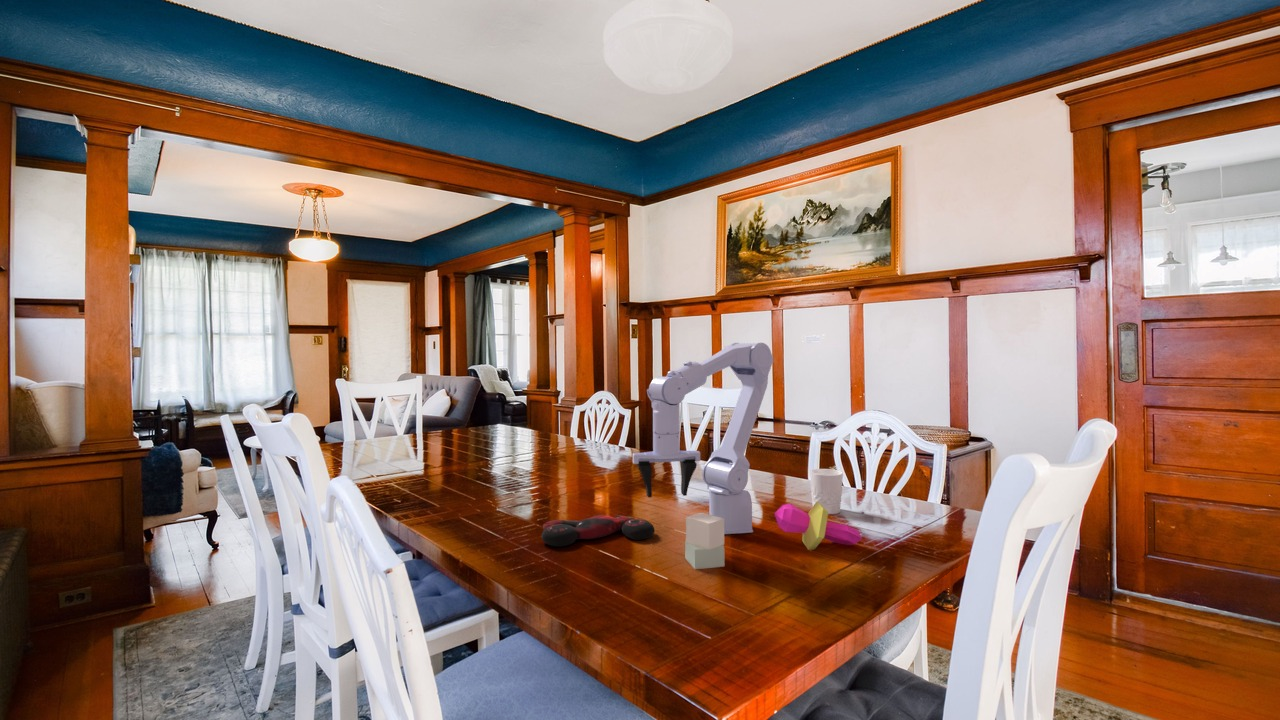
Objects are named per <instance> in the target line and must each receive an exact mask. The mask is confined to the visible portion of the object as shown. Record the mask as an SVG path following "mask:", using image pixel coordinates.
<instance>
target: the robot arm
mask: <svg viewBox="0 0 1280 720" xmlns="http://www.w3.org/2000/svg"><path fill="white" fill-rule="evenodd" d="M682 364H683V365H682V366H681V367H679V368H677V369H675V370H669V371H667V374H666V376H655V377H654V378H653V379H652V380H651V382H650V384H649V386H648V388H647V389H646V393H647V398H649V400H650V402H651V408H652V451H646V452H645V451H644V452H633V453H632V463H633V465H637V468H638V470H639V472H640V475H641V477H642V480H643V484H644V486H645V490H646V491H645V492H646V496H647V498H652V497H653V490H652V473H653V472H652V471H653V468H652V467H651V465H652V464H653V463H672V462H679V464H680V471H681V472H680V474H681V477H680V478H681V480H680V481H681V482H680V484H681V486H680V493H681V495H682V496H683V497H684V496H685V497H686V496H687V495H688V490H689V485H690V483H691V482H690V481H691V479H692V477H693V475H694V472H695V471H696V468H697V462H701V451H699V450H681V449H680V448H681V445H680V443H681V439H680V438H681V437H680V435H681V434H680V403H682V402H683V400H684V399H685V396H686V395H687V394H689V393H691V392H693V391H695V390H697V389H698V388H700V387H702V386H704V385H705V384H706V383H707V377H710V376H713V375H714V374H716V373H718V372H719V371H723V370H724V369H727V368H730V370H732V372H733V373H734V375H735V376H736V377H737V379H738V380H740V383H741V385H742V386H741V390H740V392H739V394H738V395H739V396H738V399H737V400H736V403H735V406H734V410H733V412H732V416H731V419H730V421H729V424H728V426H727V430H726V432H725V435H724V437H723V440H722V444H721V446H720V447H718V448H717V449H715V450H714V451H712V452H711V455H710V456H709V459H708V460H707V461H706V462H705V464H704V466H703V468H702V480H703V481H704V484H706V485H707V490H708V491H709V492H708V494H709V497H708V498H709V499H708V501H709V502H708V503H709V504H708V505H709V507H708V509H709V510H708V511H709V515H713V516H716V517H720V518H723V519H724V535H732V534H734V535H735V534H749V533H750V534H751V533H754V530H753V502H752V501H753V500H752V496H751V494H750V492H749V490H745V488H747V487H746V486H747V484H748V482H749V469H750V466H751V464H750V462H749V460H748V459H747V458H746V456H745V452H746V450H747V446H748V443H749V441H750V437H751V435H752V432H753V429H754V426H755V422H756V420H757V417H758V414H759V413H760V412H759V411H760V408H761V406H762V401H763V399H764V396H765V395H766V394H765V393H766V390H767V388H768V383H769V381H768V380H769V374H770V370H771V368H772V366H773V364H774V357H773V354H772V352H771V349H770V347H769V345H768V344H767V343H765V342H758V343H757V342H755V343H754V342H753V343H748V342H747V343H745V342H744V343H740V342H733V343H731V344H729V345H726V346H724V348H723V349H721V350H719V351H718V352H717V353H714V354H713V355H711V356H710V357H708V358H706V359H705V360H703V361H701V362H700V363H699V362H696V361H691V360H689V361H688V360H687V361H685V362H683V363H682ZM651 463H652V464H651Z"/></svg>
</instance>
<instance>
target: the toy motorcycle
mask: <svg viewBox="0 0 1280 720" xmlns="http://www.w3.org/2000/svg"><path fill="white" fill-rule="evenodd" d="M542 528H543V531H542V533H541V540H542V541H543V543H544V544H546V545H548V546H551V547H555V548H556V547H558V548H559V547H566V546H569V545H573V544H574V543H575V542H576V541H577V540H581V539H582V540H594V539H601V538H603V537H607V536H610V535H612V534H614V533H616V532H618V531H621V532H622V534H623V535H624V536H626V537H627V538H629V539H631V540H634V541H644V540H647V539H650V538H651V537H652V536H653V535H654V533H655V531H656V530H655V527H654V525H653V524H652V523H651V522H650V521H648V520H645V519H643V518H636V517H633V516H625V515H622V514H619V515H618V514H615V517H613V516H610V515H607V514H598V515H594V516H592V517H588V518H585V519H582V520H566V519H553V520H550V521H546V522H545V523H544V524H543V525H542Z"/></svg>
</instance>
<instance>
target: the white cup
mask: <svg viewBox="0 0 1280 720" xmlns="http://www.w3.org/2000/svg"><path fill="white" fill-rule="evenodd" d="M810 490H811V491H810V492H811V500H812V503H811V505H812V507H813V506H814V504H815V503H816V502H818V503H820V504H821V505H822V506H823V507H824V508H825V509H826V510H827V511H828V515H836V514H839V513H840V512H841V502H842V495H843V494H842V492H843V491H842V490H843V472H842V471H841V470H837V469H831V468H816V469H812V470H810Z"/></svg>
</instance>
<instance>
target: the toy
mask: <svg viewBox="0 0 1280 720" xmlns="http://www.w3.org/2000/svg"><path fill="white" fill-rule="evenodd" d="M774 516H775V519H776V523H777V526H778V527H779V528H780V529H781V530H782V531H783V532H784V533H798V534H799V533H800V534H802V540H801V541H802V542H803V543H802V544H804V546H805V547H806V548H807V550H808V551H811V550H812V551H813V550H816V548H817V547H818V546H819V544H820V543H821V542H822V541H823V540H824V539H826V540H828V541H830V542H832V543H836V544H840V545H846V546H851V545H856V544H857V543H858V542H860V540H861V539H862V538H863V537H862V536H861V533H860V532H859V530H858V529H856V528H854V527H851V526H850V525H846V524H842V523H837V522H832V521H828V516H829V514H828V511H827V510H826V509H825V508H824V507H823V506H822V505H821V504H820V503H818V502H816V503H815V504H814V506H813V505H812V507H811V509H810V510H809V511H808V513H807V512H805V511H803V510H802V509H800V508H799V507H797V506H795V505H793V504H792V503H787V504H786V503H785V504H782V505H781V506H780V507H779V508H778V509H777V510H776V511H775V512H774Z"/></svg>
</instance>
